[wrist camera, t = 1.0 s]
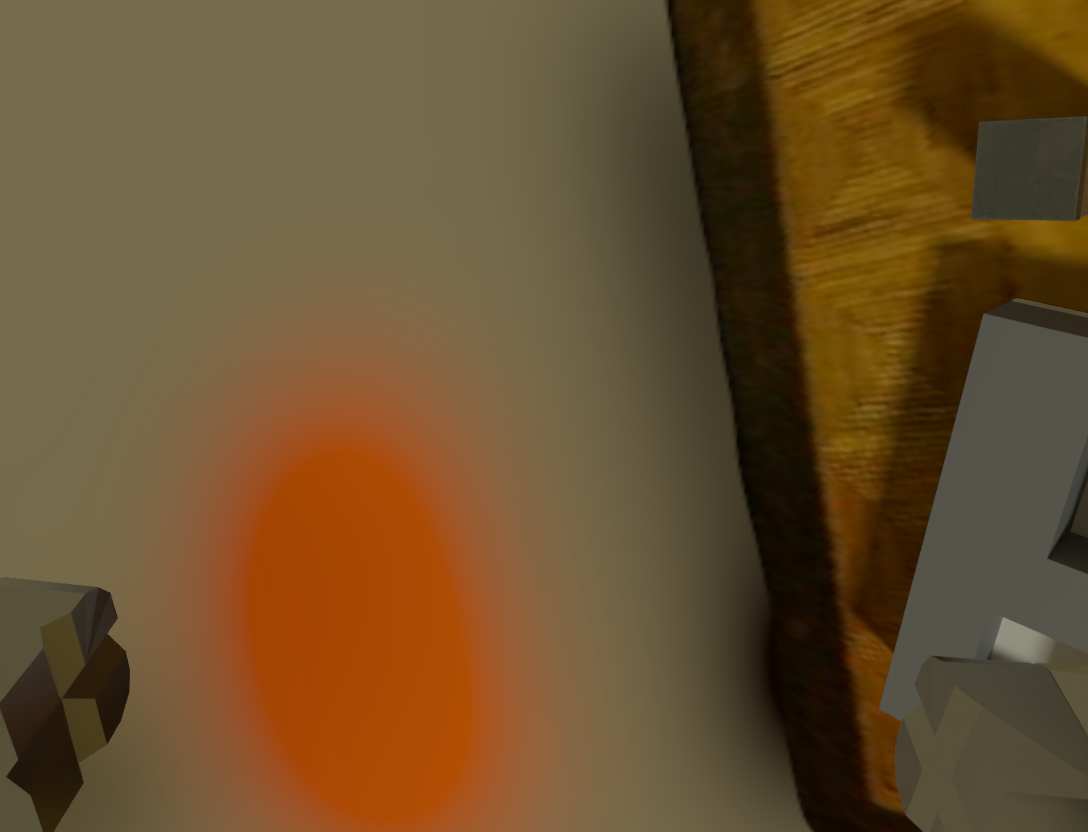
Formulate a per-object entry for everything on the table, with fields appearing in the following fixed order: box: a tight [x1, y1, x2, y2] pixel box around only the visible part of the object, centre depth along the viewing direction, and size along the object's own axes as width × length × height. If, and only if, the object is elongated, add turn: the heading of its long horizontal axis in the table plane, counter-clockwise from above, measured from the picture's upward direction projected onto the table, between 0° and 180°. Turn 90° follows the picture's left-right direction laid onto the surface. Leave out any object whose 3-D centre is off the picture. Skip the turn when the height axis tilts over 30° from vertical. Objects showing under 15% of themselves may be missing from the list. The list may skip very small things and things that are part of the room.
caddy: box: [879, 298, 1088, 721], centre depth 45 cm, size 14×24×5 cm, turn 176°
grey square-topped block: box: [971, 116, 1088, 221], centre depth 40 cm, size 4×4×8 cm
